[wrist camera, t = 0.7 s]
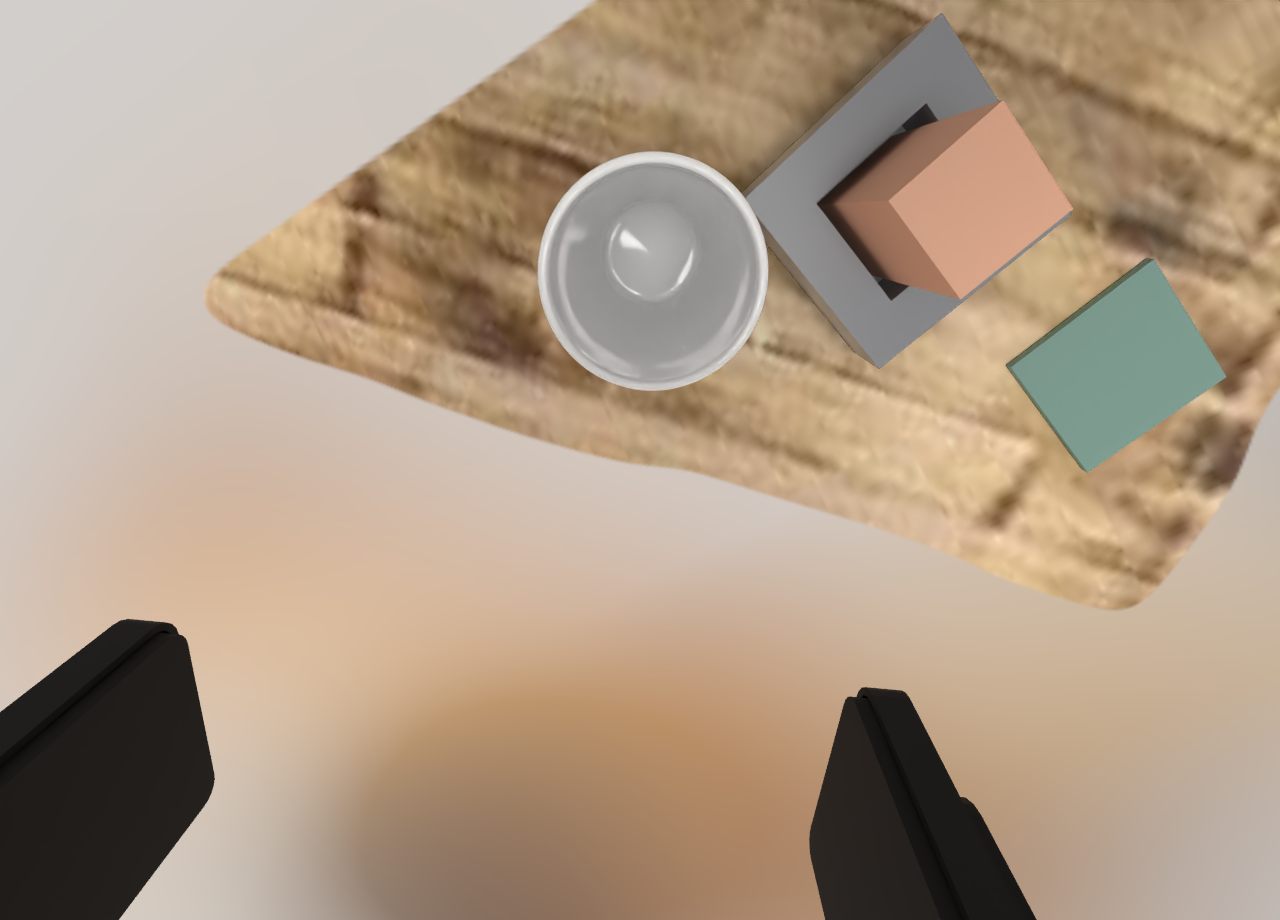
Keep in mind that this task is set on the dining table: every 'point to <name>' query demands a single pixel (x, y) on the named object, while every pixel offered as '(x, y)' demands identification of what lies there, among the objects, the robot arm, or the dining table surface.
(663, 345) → the drinking glass
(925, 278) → the peg
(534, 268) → the dining table surface
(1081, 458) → the mat
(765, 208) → the pocket block
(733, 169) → the dining table surface
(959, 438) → the dining table surface
